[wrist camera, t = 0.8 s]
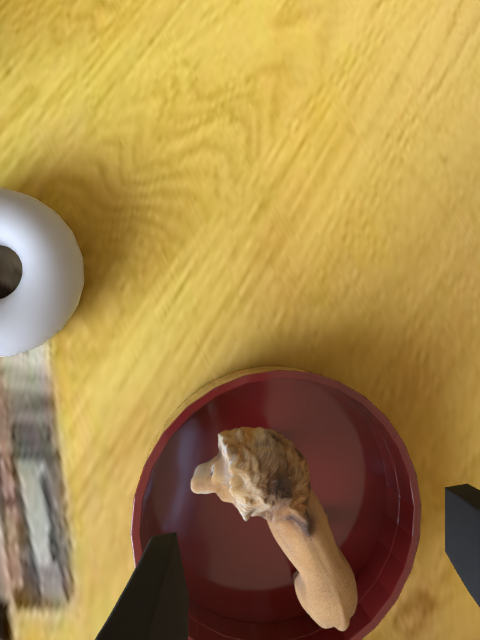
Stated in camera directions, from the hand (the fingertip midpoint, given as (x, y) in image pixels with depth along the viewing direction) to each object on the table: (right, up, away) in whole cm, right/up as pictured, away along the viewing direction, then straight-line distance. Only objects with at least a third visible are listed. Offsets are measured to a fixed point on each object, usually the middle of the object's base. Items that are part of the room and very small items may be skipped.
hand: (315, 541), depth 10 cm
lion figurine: (0, -6, +16) cm, 17 cm away
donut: (-17, +8, +14) cm, 23 cm away
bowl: (0, -6, +16) cm, 17 cm away
